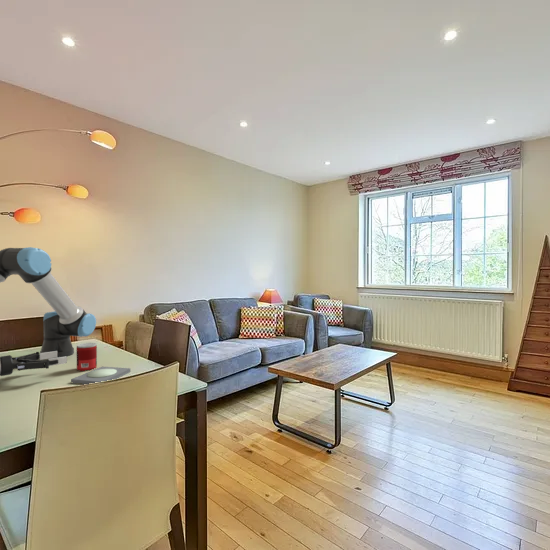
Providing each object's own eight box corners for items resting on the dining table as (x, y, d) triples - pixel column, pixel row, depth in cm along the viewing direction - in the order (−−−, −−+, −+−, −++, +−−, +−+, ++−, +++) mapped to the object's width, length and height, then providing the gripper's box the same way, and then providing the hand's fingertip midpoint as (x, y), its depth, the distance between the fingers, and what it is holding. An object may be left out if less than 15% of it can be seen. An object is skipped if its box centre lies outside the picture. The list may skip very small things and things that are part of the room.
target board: (102, 369, 152) (102, 365, 152) (130, 371, 149) (130, 367, 149) (71, 383, 134) (71, 378, 134) (102, 385, 132) (102, 380, 132)
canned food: (100, 367, 155) (100, 343, 155) (82, 372, 148) (82, 347, 148) (90, 365, 159) (90, 341, 159) (73, 369, 152) (73, 345, 152)
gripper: (-7, 369, 139) (53, 360, 155) (4, 383, 122) (70, 371, 138) (-7, 351, 139) (53, 343, 155) (4, 363, 122) (70, 353, 138)
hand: (61, 356), depth 146 cm, fingers open, 13 cm apart
